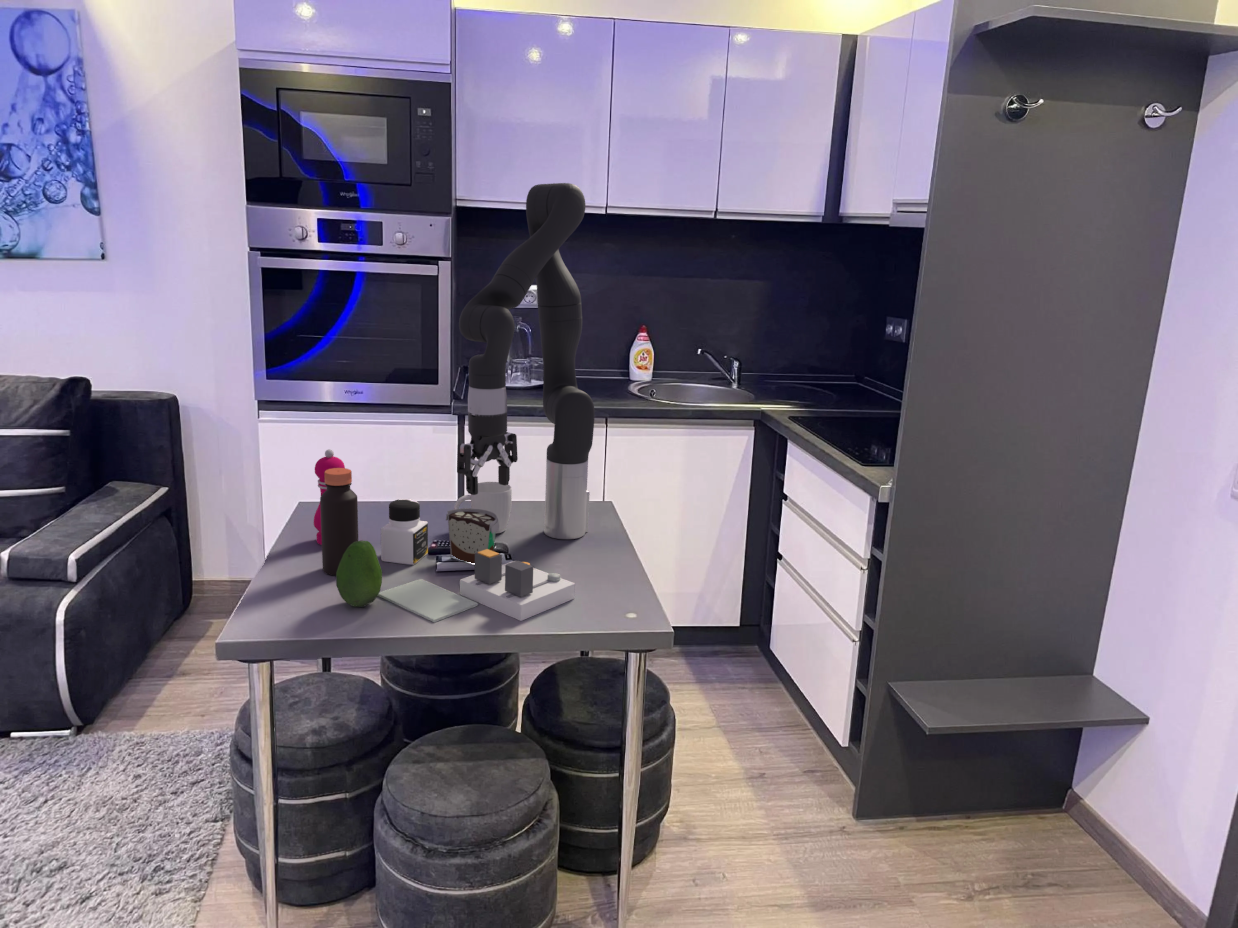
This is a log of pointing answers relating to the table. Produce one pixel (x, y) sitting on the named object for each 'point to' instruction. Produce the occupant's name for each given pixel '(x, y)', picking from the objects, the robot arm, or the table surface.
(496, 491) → the mug
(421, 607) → the pad
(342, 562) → the avocado
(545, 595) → the panel
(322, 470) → the pepper mill
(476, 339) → the robot arm
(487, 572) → the toggle
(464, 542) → the food container
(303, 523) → the table surface
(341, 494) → the vinegar
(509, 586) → the toggle
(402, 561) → the medicine bottle
